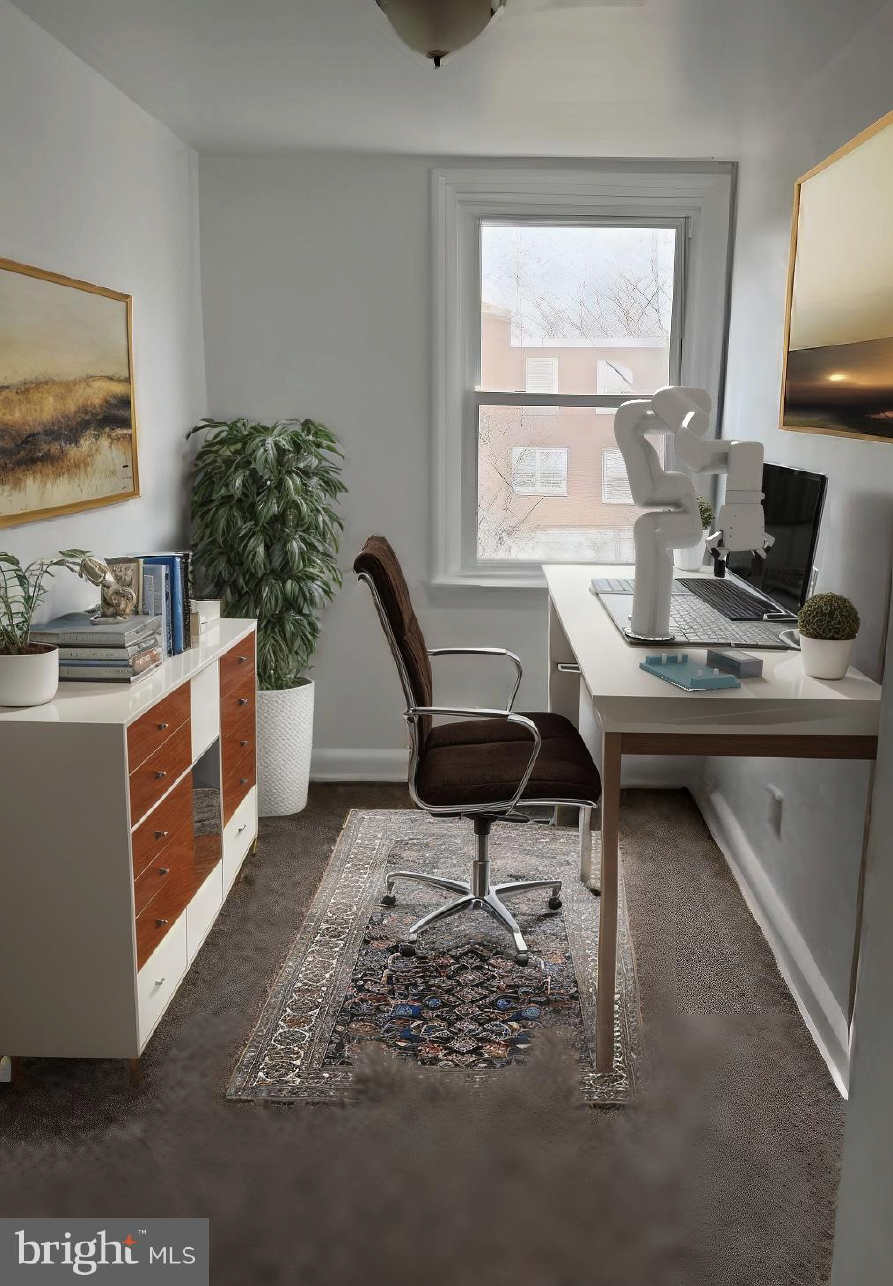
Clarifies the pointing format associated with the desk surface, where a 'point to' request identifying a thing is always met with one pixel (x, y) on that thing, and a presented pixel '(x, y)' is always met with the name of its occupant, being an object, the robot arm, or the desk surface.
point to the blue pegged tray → (687, 672)
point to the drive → (734, 662)
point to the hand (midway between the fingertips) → (738, 576)
